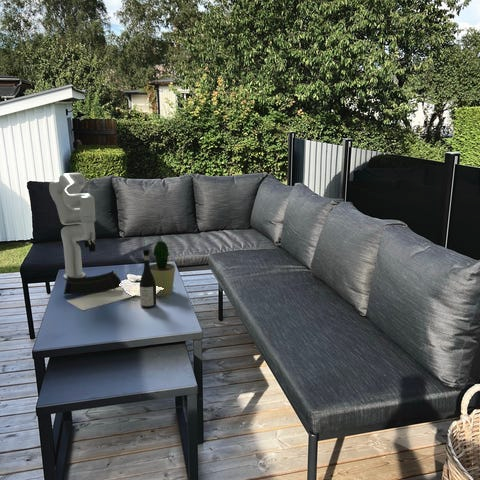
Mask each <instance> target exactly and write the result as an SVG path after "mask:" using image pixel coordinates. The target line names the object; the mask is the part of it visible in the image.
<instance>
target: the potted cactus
mask: <svg viewBox="0 0 480 480" xmlns="http://www.w3.org/2000/svg"><path fill="white" fill-rule="evenodd" d="M152 255H153V259H154V260H155V263H153V264H149V265H150V270H151V273H152V275H153V277H154V280H155V284H156V286H158V287H162V288H164V289H163V290H160V291H159V292H158V293H157V294H156V297H158V296H159V297H165V296H169V295H172V293H173V289H174V280H175V273H176V266H175V264H172V263H169V260H170V259H169V256H170V255H171V253H170V252H169V246H168V243H167V242H165V240H164V241H163V240H159V241H156V242H155V245H154V247H153V251H152Z"/></svg>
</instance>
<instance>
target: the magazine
mask: <svg viewBox="0 0 480 480" xmlns="http://www.w3.org/2000/svg"><path fill="white" fill-rule="evenodd" d="M120 283H121V284H122V281H121V279H120V277H119V275H118V274H117V272H114V270H111V271H110V272H106V273H102V274H98V275H93V276H84V277H80V278H75V277H68V276H67V279H66V282H65V287H64V291H63V295H91V294H95V293H99V292H104V291H108V290H112V289H114V290H115V288H118V287H121V286H119V284H120Z"/></svg>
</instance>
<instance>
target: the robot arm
mask: <svg viewBox="0 0 480 480" xmlns="http://www.w3.org/2000/svg"><path fill="white" fill-rule="evenodd" d="M85 186H86V177H85V176H84V174H83V173H81V172H67V173H63V174H61V175H60V176H59V178H58V179H56V180H52V181H51V182H50V183H49V186H48V188H49V194H50V196H51V198H52V201H54V203H55V206H56V210H57V215H58V216H59V221H60V223H61V224H62V225H64V227H62V229H61V230H60V235H61V241H62V244H63V255H64V266H65V273H64V274H63V279H65V280H67V276H68V277H75V278H80V277H86V273H85V272H83V265H82V264H83V263H82V249H81V247H80V245H79V243H77V242H79V241H84V248H88V251H89V252H90V253H91V252H96V242H95V241H96V231H95V230H96V228H95V223H96V221H97V220H96V207H95V205H96V204H95V196H93V195H92V194H91V193H90V192H89V193H88V192H87V193H86V192H85V193H80V192H81V190H82V189H83V188H84V187H85ZM65 225H66V226H65Z"/></svg>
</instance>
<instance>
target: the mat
mask: <svg viewBox="0 0 480 480" xmlns="http://www.w3.org/2000/svg"><path fill="white" fill-rule="evenodd" d="M120 287H121V286H120ZM120 287H118V288H115V290H114V289H112V290H108V291H104V292H99V293H92V294H86V295H83V296H80V297H75V298H72V299H68V300H66V302H67V303H68V304H70V305H72V306H74V307H75V308H77V309H79V310H80V311H83V312H84V311H88V310H91V309H95V308H98V307H101V306H105V305H108V304H112V303H116V302H118V301H124V300H126V299H130V298H133V296H130V295H128V294H126V293H125V292H124V291H123V289H122V288H120Z"/></svg>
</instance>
